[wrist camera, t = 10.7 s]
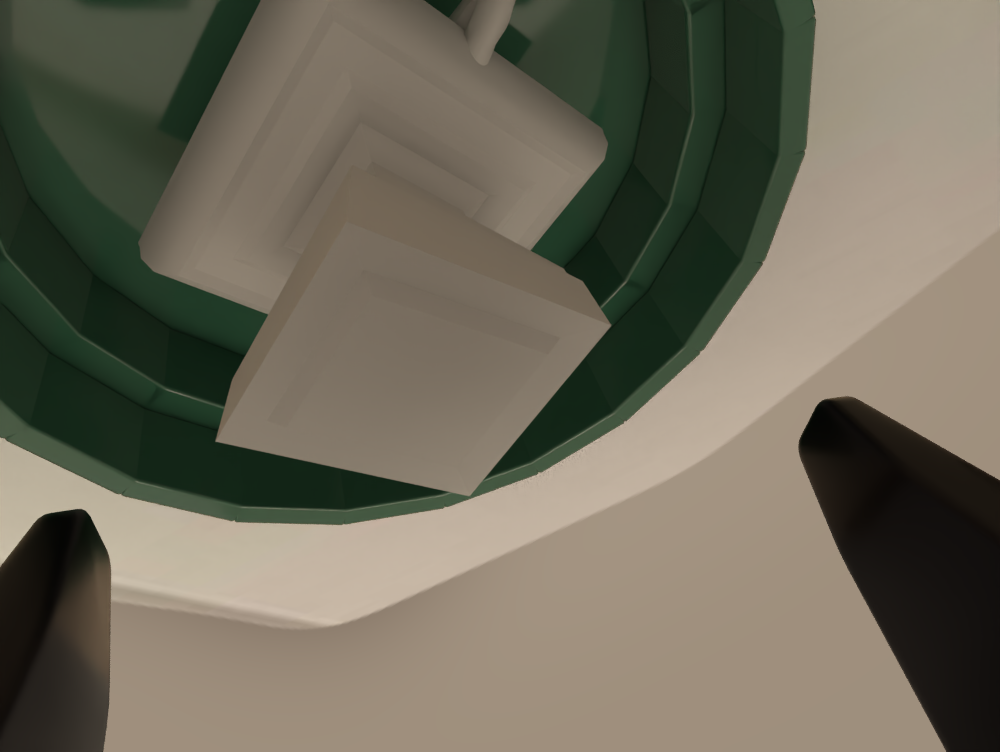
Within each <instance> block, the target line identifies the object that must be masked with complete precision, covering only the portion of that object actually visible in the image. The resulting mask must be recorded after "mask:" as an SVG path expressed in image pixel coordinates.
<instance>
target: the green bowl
mask: <svg viewBox="0 0 1000 752" xmlns="http://www.w3.org/2000/svg"><path fill="white" fill-rule="evenodd" d="M260 1H261V0H0V437H1V438H5V439H6V440H7V441H8V442H10V443H12V444H14V445H16V446H19V447H21V448H23V449H25V450H27V451H29V452H31V453H33V454H35V455H37V456H39V457H41V458H43V459H46V460H48V461H50V462H52V463H54V464H56V465H58V466H60V467H62V468H64V469H66V470H68V471H71V472H73V473H75V474H77V475H79V476H81V477H83V478H85V479H87V480H89V481H91V482H93V483H95V484H98V485H100V486H102V487H104V488H106V489H108V490H110V491H112V492H114V493H116V494H122V495H123V496H125V497H130V498H134V499H138V500H143V501H147V502H151V503H156V504H160V505H164V506H169V507H173V508H177V509H182V510H186V511H190V512H195V513H199V514H203V515H207V516H212V517H216V518H220V519H225V520H229V521H234V520H235V522H248V523H285V524H323V525H343V523H344V524H351V523H357V522H364V521H370V520H376V519H382V518H388V517H394V516H400V515H406V514H412V513H418V512H424V511H431V510H437V509H443V508H444V507H449V506H452V505H455V504H457V503H460V502H463V501H466V500H468V499H471V498H474V497H477V496H479V495H482V494H485V493H488V492H490V491H493V490H496V489H498V488H501V487H504V486H507V485H509V484H512V483H515V482H518V481H520V480H523V479H526V478H529V477H531V476H534V475H537V474H538V472H540V473H541V472H543V471H545V470H546V469H548V468H550V467H551V466H553V465H555V464H556V463H558V462H560V461H561V460H563V459H565V458H566V457H568V456H570V455H571V454H573V453H575V452H576V451H578V450H580V449H581V448H583V447H585V446H586V445H588V444H590V443H591V442H593V441H595V440H596V439H598V438H600V437H601V436H603V435H605V434H606V433H608V432H610V431H611V430H613V429H615V428H616V427H618V426H620V425H621V424H623V423H624V421H627V420H628V419H629V418H630V417H632V416H633V415H634V414H635V413H636V412H637V411H638V410H639V409H640V408H641V407H642V406H644V405H645V404H646V403H647V402H648V401H649V400H650V399H651V398H652V397H653V396H654V395H656V394H657V393H658V392H659V391H660V390H661V389H662V388H663V387H664V386H665V385H666V384H668V383H669V382H670V381H671V380H672V379H673V378H674V377H675V376H676V375H677V374H678V373H680V372H681V371H682V370H683V369H684V368H685V367H686V366H687V365H688V364H689V363H690V362H692V361H693V360H694V359H695V358H696V357H697V356H698V355H699V354H700V351H702V350H704V348H705V347H706V345H707V344H708V342H709V341H710V339H711V338H712V337H713V335H714V334H715V332H716V331H717V329H718V328H719V327H720V325H721V324H722V322H723V321H724V319H725V318H726V316H727V315H728V314H729V312H730V311H731V309H732V308H733V306H734V305H735V304H736V302H737V301H738V299H739V298H740V296H741V295H742V293H743V292H744V291H745V289H746V288H747V286H748V285H749V283H750V282H751V281H752V279H753V278H754V276H755V275H756V273H757V272H758V270H759V269H760V268H761V266H762V264H763V263H762V262H763V261H765V259H766V256H767V253H768V251H769V248H770V245H771V243H772V240H773V237H774V235H775V232H776V229H777V227H778V224H779V221H780V219H781V216H782V213H783V211H784V208H785V205H786V203H787V200H788V197H789V195H790V192H791V189H792V187H793V184H794V181H795V179H796V176H797V173H798V171H799V168H800V165H801V163H802V160H803V157H804V155H805V151H804V150H805V149H806V144H807V131H808V118H809V105H810V92H811V79H812V65H813V52H814V39H815V26H816V19H815V16H814V15H815V9H814V5H813V2H812V0H516V1H515V4H514V7H513V10H512V14H511V17H510V20H509V23H508V26H507V28H506V30H505V31H504V33H503V34H502V36H501V37H500V39H499V40H498V42H497V43H496V45H495V48H494V51H495V52H496V53H498V54H499V55H501V56H502V57H503V58H505V59H506V60H508V61H509V62H510V63H512V64H513V65H514V66H516V67H517V68H519V69H520V70H521V71H523V72H524V73H526V74H527V75H528V76H530V77H531V78H533V79H534V80H535V81H537V82H538V83H539V84H541V85H542V86H544V87H545V88H546V89H548V90H549V91H551V92H552V93H553V94H555V95H556V96H558V97H559V98H560V99H562V100H563V101H564V102H566V103H567V104H569V105H570V106H571V107H573V108H574V109H576V110H577V111H578V112H580V113H581V114H583V115H584V116H585V117H587V118H588V119H589V120H591V121H592V122H594V123H595V124H596V125H598V126H599V127H601V128H602V129H603V133H604V135H605V137H606V140H607V142H608V146H607V151H606V155H605V160H604V161H603V162H602V163H601V165H600V166H599V167H598V168H597V169H596V171H595V172H594V173H593V174H592V176H591V177H590V178H589V179H588V181H587V182H586V183H585V184H584V185H583V187H582V188H581V189H580V190H579V192H578V193H577V194H576V195H575V196H574V198H573V199H572V200H571V201H570V203H569V204H568V205H567V206H566V208H565V209H564V210H563V211H562V212H561V214H560V215H559V216H558V217H557V219H556V220H555V221H554V222H553V223H552V225H551V226H550V227H549V228H548V230H547V231H546V232H545V233H544V234H543V236H542V237H541V238H540V239H539V241H538V242H537V243H536V244H535V246H534V247H533V248H532V249H531V250H530V251H532V252H534V253H536V254H538V255H539V256H541V257H543V258H545V259H547V260H549V261H550V262H552V263H554V264H556V265H558V266H560V267H562V268H563V269H565V271H566V273H567V274H569V275H571V276H573V277H575V278H577V279H579V280H581V281H583V283H584V284H585V286H586V287H587V289H588V290H589V292H590V293H591V295H592V296H593V298H594V299H595V301H596V303H597V304H598V306H599V307H600V309H601V310H602V312H603V313H604V315H605V316H606V318H607V319H608V321H609V322H610V324H611V327H610V328H609V329H608V330H607V331H606V333H605V334H604V335H603V336H602V337H601V339H600V340H599V341H598V342H597V343H596V345H595V346H594V347H593V348H592V349H591V351H590V352H589V353H588V354H587V356H586V357H585V358H584V359H583V360H582V362H581V363H580V364H579V365H578V366H577V368H576V369H575V370H574V371H573V372H572V374H571V375H570V376H569V377H568V378H567V380H566V381H565V382H564V383H563V384H562V386H561V387H560V388H559V389H558V390H557V392H556V393H555V394H554V395H553V396H552V398H551V399H550V400H549V401H548V402H547V404H546V405H545V406H544V407H543V408H542V410H541V411H540V412H539V413H538V415H537V416H536V417H535V418H534V419H533V421H532V422H531V423H530V424H529V425H528V427H527V428H526V429H525V430H524V431H523V433H522V434H521V435H520V436H519V437H518V439H517V440H516V441H515V442H514V443H513V445H512V446H511V447H510V448H509V449H508V451H507V452H506V453H505V454H504V455H503V457H502V458H501V459H500V460H499V461H498V463H497V464H496V465H495V466H494V467H493V469H492V470H491V471H490V472H489V473H488V475H487V476H486V477H485V478H484V480H483V481H482V482H481V483H480V484H479V486H478V487H477V488H476V489H475V490H474V492H473V493H472V494H471V495H470V496H466V495H461V494H457V493H452V492H447V491H443V490H438V489H434V488H429V487H424V486H420V485H415V484H410V483H406V482H401V481H396V480H392V479H387V478H382V477H378V476H373V475H369V474H364V473H359V472H355V471H350V470H345V469H341V468H336V467H331V466H327V465H322V464H317V463H313V462H308V461H304V460H299V459H294V458H290V457H285V456H280V455H276V454H271V453H266V452H262V451H257V450H252V449H248V448H243V447H238V446H234V445H229V444H225V443H220V442H215V441H216V437H217V434H218V430H219V426H220V423H221V419H222V415H223V412H224V408H225V404H226V401H227V397H228V393H229V390H230V386H231V382H232V379H233V377H234V375H235V374H236V372H237V370H238V368H239V366H240V365H241V363H242V361H243V359H244V358H245V356H246V354H247V352H248V350H249V349H250V347H251V345H252V343H253V341H254V340H255V338H256V336H257V334H258V332H259V331H260V329H261V327H262V325H263V323H264V322H265V320H266V318H267V316H268V314H266V313H263V312H260V311H258V310H255V309H252V308H250V307H247V306H244V305H242V304H239V303H236V302H234V301H231V300H228V299H226V298H223V297H220V296H217V295H215V294H212V293H209V292H207V291H204V290H201V289H199V288H196V287H193V286H191V285H188V284H185V283H183V282H180V281H177V280H175V279H172V278H169V277H167V276H164V275H161V274H159V273H156V272H154V271H153V270H152V269H151V268H150V267H149V266H148V265H147V264H146V263H145V262H144V261H143V260H142V259H141V255H140V246H139V244H138V242H139V240H140V238H141V236H142V234H143V232H144V230H145V228H146V226H147V224H148V222H149V220H150V218H151V216H152V214H153V212H154V210H155V208H156V206H157V204H158V202H159V200H160V198H161V196H162V194H163V192H164V190H165V189H166V187H167V185H168V183H169V181H170V179H171V177H172V175H173V173H174V171H175V169H176V167H177V165H178V163H179V161H180V159H181V157H182V155H183V153H184V151H185V149H186V147H187V145H188V143H189V141H190V139H191V137H192V135H193V133H194V131H195V129H196V127H197V125H198V123H199V121H200V119H201V117H202V115H203V113H204V111H205V110H206V108H207V106H208V104H209V102H210V100H211V98H212V96H213V94H214V92H215V90H216V88H217V86H218V84H219V82H220V80H221V78H222V76H223V74H224V72H225V70H226V68H227V66H228V64H229V62H230V60H231V58H232V56H233V54H234V52H235V50H236V48H237V46H238V44H239V42H240V40H241V38H242V36H243V34H244V32H245V31H246V29H247V27H248V25H249V23H250V21H251V19H252V17H253V15H254V13H255V11H256V9H257V7H258V5H259V3H260ZM424 1H426V2H427V3H428V4H430V5H431V6H432V7H434V8H435V9H437V10H438V11H439V12H441V13H442V14H444V15H445V16H446V17H448V18H449V17H450V15H451V14H452V13H453V12H454V10H455V9H456V8H457V6H458V5H459V4H460V3H461V1H462V0H424Z"/></svg>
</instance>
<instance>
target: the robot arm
mask: <svg viewBox="0 0 1000 752" xmlns="http://www.w3.org/2000/svg"><path fill="white" fill-rule="evenodd" d="M799 454H800V458H801V461H802V463H803V465H804V468H805V470H806V473H807V475H808V478H809V480H810V483H811V485H812V487H813V490H814V492H815V495H816V497H817V499H818V502H819V504H820V507H821V509H822V512H823V514H824V516H825V518H826V521H827V524H828V526H829V529H830V531H831V533H832V536H833V538H834V540H835V543H836V545H837V547H838V549H839V552H840V554H841V556H842V558H843V560H844V562H845V564H846V566H847V568H848V570H849V572H850V574H851V575H852V577H853V579H854V581H855V583H856V584H857V587H858V588H859V590H860V592H861V594H862V596H863V597H864V599H865V601H866V603H867V605H868V607H869V609H870V611H871V613H872V614H873V616H874V618H875V620H876V621H877V624H878V626H879V627H880V629H881V631H882V633H883V635H884V637H885V638H886V640H887V642H888V644H889V646H890V648H891V650H892V652H893V653H894V655H895V657H896V659H897V661H898V662H899V664H900V666H901V668H902V670H903V671H904V674H905V676H906V678H907V679H908V681H909V683H910V685H911V687H912V689H913V690H914V692H915V694H916V696H917V698H918V700H919V702H920V703H921V705H922V707H923V709H924V711H925V713H926V714H927V716H928V718H929V720H930V722H931V724H932V725H933V727H934V729H935V731H936V733H937V735H938V737H939V739H940V741H941V742H942V744H943V746H944V748H945V750H946V752H1000V480H998V479H996V478H995V477H993V476H991V475H989V474H987V473H986V472H984V471H982V470H981V469H979V468H977V467H975V466H974V465H972V464H970V463H968V462H966V461H965V460H963V459H961V458H960V457H958V456H956V455H954V454H952V453H951V452H949V451H947V450H946V449H944V448H942V447H940V446H939V445H937V444H935V443H933V442H932V441H930V440H928V439H926V438H925V437H923V436H921V435H919V434H918V433H916V432H914V431H912V430H911V429H909V428H907V427H905V426H904V425H901V424H900V423H898V422H897V421H895V420H893V419H891V418H890V417H888V416H886V415H884V414H883V413H881V412H879V411H877V410H876V409H874V408H872V407H870V406H869V405H867V404H865V403H863V402H862V401H860V400H858V399H856V398H853V397H849V396H845V397H837V398H830V399H825V400H822V401H821V402H820V403H819V404H818V405H817V406H816V408H815V410H814V412H813V414H812V416H811V418H810V420H809V422H808V424H807V425H806V428H805V429H804V431H803V433H802V435H801V437H800V440H799ZM110 615H111V565H110V559H109V555H108V552H107V549H106V547H105V545H104V543H103V541H102V539H101V537H100V535H99V533H98V531H97V529H96V527H95V525H94V523H93V521H92V519H91V517H90V516H89V514H88V513H87V512H86V511H84V510H82V509H75V510H68V511H62V512H55V513H49V514H45V515H43V516H41V517H40V518H39V519H38V520H37V521H36V522H35V523H34V524H33V525H32V527H31V528H30V529H29V531H28V532H27V533H26V534H25V536H24V537H23V538H22V540H21V541H20V542H19V543H18V545H17V546H16V547H15V549H14V550H13V551H12V552H11V554H10V555H9V556H8V558H7V559H6V560H5V561H4V563H3V564H2V565H1V567H0V752H103V749H104V742H105V735H106V728H107V718H108V709H109V688H110Z"/></svg>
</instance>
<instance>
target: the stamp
mask: <svg viewBox="0 0 1000 752" xmlns="http://www.w3.org/2000/svg"><path fill="white" fill-rule="evenodd" d="M515 1H516V0H462V1H461V3H460V4H459V5H458V6H457V8H456V9H455V10H454V12H453V13H452V14H451V15H450V17H449V18H448V17H446V16H445V15H444V14H442V13H441V12H439V11H438V10H437V9H435V8H434V7H432V6H431V5H430V4H428V3H427V2H426V1H424V0H261V1H260V3H259V5H258V7H257V9H256V11H255V13H254V15H253V17H252V19H251V21H250V23H249V25H248V27H247V29H246V31H245V32H244V34H243V36H242V38H241V40H240V42H239V44H238V46H237V48H236V50H235V52H234V54H233V56H232V58H231V60H230V62H229V64H228V66H227V68H226V70H225V72H224V74H223V76H222V78H221V80H220V82H219V84H218V86H217V88H216V90H215V92H214V94H213V96H212V98H211V100H210V102H209V104H208V106H207V108H206V110H205V111H204V113H203V115H202V117H201V119H200V121H199V123H198V125H197V127H196V129H195V131H194V133H193V135H192V137H191V139H190V141H189V143H188V145H187V147H186V149H185V151H184V153H183V155H182V157H181V159H180V161H179V163H178V165H177V167H176V169H175V171H174V173H173V175H172V177H171V179H170V181H169V183H168V185H167V187H166V189H165V190H164V192H163V194H162V196H161V198H160V200H159V202H158V204H157V206H156V208H155V210H154V212H153V214H152V216H151V218H150V220H149V222H148V224H147V226H146V228H145V230H144V232H143V234H142V236H141V238H140V240H139V242H138V244H139V246H140V255H141V259H142V260H143V261H144V262H145V263H146V264H147V265H148V266H149V267H150V268H151V269H152V270H153V271H154V272H156V273H159V274H161V275H164V276H167V277H169V278H172V279H175V280H177V281H180V282H183V283H185V284H188V285H191V286H193V287H196V288H199V289H201V290H204V291H207V292H209V293H212V294H215V295H217V296H220V297H223V298H226V299H228V300H231V301H234V302H236V303H239V304H242V305H244V306H247V307H250V308H252V309H255V310H258V311H260V312H263V313H266V314H268V316H267V318H266V320H265V322H264V323H263V325H262V327H261V329H260V331H259V332H258V334H257V336H256V338H255V340H254V341H253V343H252V345H251V347H250V349H249V350H248V352H247V354H246V356H245V358H244V359H243V361H242V363H241V365H240V366H239V368H238V370H237V372H236V374H235V375H234V377H233V379H232V382H231V386H230V390H229V393H228V397H227V401H226V404H225V408H224V412H223V415H222V419H221V423H220V426H219V430H218V434H217V437H216V441H215V442H220V443H225V444H229V445H234V446H238V447H243V448H248V449H252V450H257V451H262V452H266V453H271V454H276V455H280V456H285V457H290V458H294V459H299V460H304V461H308V462H313V463H317V464H322V465H327V466H331V467H336V468H341V469H345V470H350V471H355V472H359V473H364V474H369V475H373V476H378V477H382V478H387V479H392V480H396V481H401V482H406V483H410V484H415V485H420V486H424V487H429V488H434V489H438V490H443V491H447V492H452V493H457V494H461V495H466V496H470V495H471V494H472V493H473V492H474V490H475V489H476V488H477V487H478V486H479V484H480V483H481V482H482V481H483V480H484V478H485V477H486V476H487V475H488V473H489V472H490V471H491V470H492V469H493V467H494V466H495V465H496V464H497V463H498V461H499V460H500V459H501V458H502V457H503V455H504V454H505V453H506V452H507V451H508V449H509V448H510V447H511V446H512V445H513V443H514V442H515V441H516V440H517V439H518V437H519V436H520V435H521V434H522V433H523V431H524V430H525V429H526V428H527V427H528V425H529V424H530V423H531V422H532V421H533V419H534V418H535V417H536V416H537V415H538V413H539V412H540V411H541V410H542V408H543V407H544V406H545V405H546V404H547V402H548V401H549V400H550V399H551V398H552V396H553V395H554V394H555V393H556V392H557V390H558V389H559V388H560V387H561V386H562V384H563V383H564V382H565V381H566V380H567V378H568V377H569V376H570V375H571V374H572V372H573V371H574V370H575V369H576V368H577V366H578V365H579V364H580V363H581V362H582V360H583V359H584V358H585V357H586V356H587V354H588V353H589V352H590V351H591V349H592V348H593V347H594V346H595V345H596V343H597V342H598V341H599V340H600V339H601V337H602V336H603V335H604V334H605V333H606V331H607V330H608V329H609V328H610V327H611V324H610V322H609V321H608V319H607V318H606V316H605V315H604V313H603V312H602V310H601V309H600V307H599V306H598V304H597V303H596V301H595V299H594V298H593V296H592V295H591V293H590V292H589V290H588V289H587V287H586V286H585V284H584V283H583V281H581V280H579V279H577V278H575V277H573V276H571V275H569V274H567V273H566V271H565V269H563V268H562V267H560V266H558V265H556V264H554V263H552V262H550V261H549V260H547V259H545V258H543V257H541V256H539V255H538V254H536V253H534V252H532V251H530V250H531V249H532V248H533V247H534V246H535V244H536V243H537V242H538V241H539V239H540V238H541V237H542V236H543V234H544V233H545V232H546V231H547V230H548V228H549V227H550V226H551V225H552V223H553V222H554V221H555V220H556V219H557V217H558V216H559V215H560V214H561V212H562V211H563V210H564V209H565V208H566V206H567V205H568V204H569V203H570V201H571V200H572V199H573V198H574V196H575V195H576V194H577V193H578V192H579V190H580V189H581V188H582V187H583V185H584V184H585V183H586V182H587V181H588V179H589V178H590V177H591V176H592V174H593V173H594V172H595V171H596V169H597V168H598V167H599V166H600V165H601V163H602V162H603V161H604V160H605V155H606V151H607V146H608V142H607V140H606V137H605V135H604V133H603V129H602V128H601V127H599V126H598V125H596V124H595V123H594V122H592V121H591V120H589V119H588V118H587V117H585V116H584V115H583V114H581V113H580V112H578V111H577V110H576V109H574V108H573V107H571V106H570V105H569V104H567V103H566V102H564V101H563V100H562V99H560V98H559V97H558V96H556V95H555V94H553V93H552V92H551V91H549V90H548V89H546V88H545V87H544V86H542V85H541V84H539V83H538V82H537V81H535V80H534V79H533V78H531V77H530V76H528V75H527V74H526V73H524V72H523V71H521V70H520V69H519V68H517V67H516V66H514V65H513V64H512V63H510V62H509V61H508V60H506V59H505V58H503V57H502V56H501V55H499V54H498V53H496V52H495V51H494V48H495V45H496V43H497V42H498V40H499V39H500V37H501V36H502V34H503V33H504V31H505V30H506V28H507V26H508V23H509V20H510V17H511V14H512V10H513V7H514V4H515Z"/></svg>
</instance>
